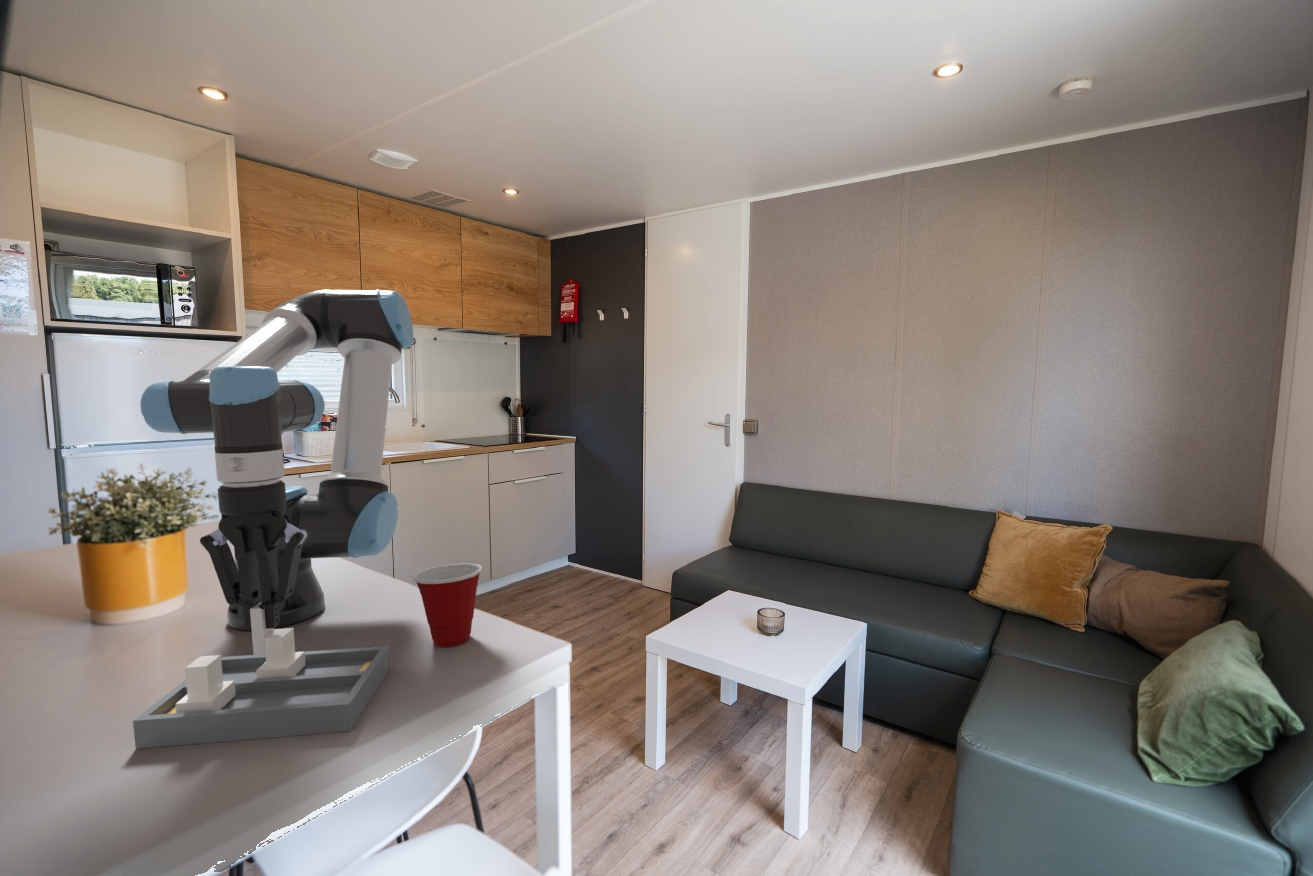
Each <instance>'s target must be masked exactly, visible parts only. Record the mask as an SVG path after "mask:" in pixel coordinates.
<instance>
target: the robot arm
mask: <svg viewBox="0 0 1313 876" xmlns="http://www.w3.org/2000/svg"><path fill="white" fill-rule="evenodd" d="M413 342H414V328H413V321H412V317H411V313H410V309H409V307H408V304H407V302H406V300H405V299H404V297H403V296H402V294H401V293H399V292H397V291H395V290H381V289H378V288H377V289H376V290H371V289H370V290H369V289H368V290H364V289H362V290H361V289H359V290H358V289H357V290H356V289H353V290H351V289H321V290H315V291H310V292H307V293H304V294H301V295H298V296H296V297H293V298H292V299H289V300H287V301H286V302H283V303H281V304H280V305H278V306H275V308H274V309H271V310H270V311H268V313H267V314H266V315H265V316H264V318H263V320H262V324H261V325H259V326H258V327H257V328H255V329H253V330H252V331H251V332H249V333H248V334H247V335H246V336H244V337H242V338H241V339H240V340H238V341H237V342H235V343H234V344H233V345H231V346H230V347H229V348H227V349H225V350H224V351H223V352H221V353H220V354H218V356H216V357H215V358H213V359H212V360H211V361H209V362H207V364H205V365H204V366H202V367H200V368H199V369H198V370H196V371H195V372H194V373H192V374H191V375H190V376H188V377H186V378H185V379H184V380H181V381H174V380H168V381H164V382H163V381H161V382H155V383H152V384H150V385H149V386H147V388H145V390H144V391H143V393H142V395H141V398H140V412H141V415H142V417H143V419H144V422H145V423H146V424H147V426H148V427H149V428H151V429H152V430H154V431H156V432H158V433H168V434H169V433H171V434H181V435H187V434H207V433H209V434H210V433H211V434H212V433H213V440H214V459H215V469H216V481H217V482H218V483H220V484H222V485H220V486H219V488H217V499H218V510H219V513H220V514H221V515H220V516H221V518H220V520H219V522H218V526H217V527H218V528H217V529H215V530H214V531H213V532H211V533H209V534H207V535H206V534H205V535H204V536H201V538H200V539H199V542H200V544H201V545H202V547H203V548H204V549H205V550H206V551H207V553H208V554H209V556H210V559H211V563H212V565H213V568H214V570H215V573H216V576H217V578H218V579H217V580H218V581H219V585H220V587H221V590H222V593H223V595H224V599H225V601H226V603H227V604H228V608H227V613H226V614H227V623H228V626H229V627H230V628H232V629H235V630H240V631H251V641H252V651H253V653H252V655H265V642H264V638H265V637H266V636H268V635H269V634H270V633H271V632H272V631H274V630H275V629H278V628H281V627H287V626H290V625H293V624H297V623H300V622H303V621H305V620H308V619H310V618H313V617H314V616H316V615H317V614H319V613H321V612H322V611H323V610H324V609H325V608H326V607H325V606H326V602H325V601H326V600H325V594H324V591H323V589H322V586H321V584H320V582H319V580H318V578H317V576H316V574H315V572H314V570H313V567H312V559H326V558H327V559H328V558H353V559H358V558H361V557H372V556H377V555H379V554H381V553H383V551H385V550H386V549H387V548H388V547H389V544H390V543H391V541H392V539H393V537H394V535H395V531H396V528H397V523H398V516H399V510H398V506H399V505H398V500H397V497H396V496H395V495H394V494H393V493H392V492H390V491H389V486H390V485H389V484H388V483H387V482H386V481H385V480H384V479H383V478H382V468H383V460H384V459H383V458H384V449H385V447H384V446H385V438H386V428H387V419H388V417H387V416H388V409H389V408H388V407H389V396H390V386H391V375H392V367H393V365H394V364H395V363H397V362H399V361H400V360H401V356H402V349H408V348H411V346H413ZM327 348H336V349H337V352H338V354H340V355H341V356H342V357H343V358H344V361H343V368H342V369H343V370H342V377H341V387H340V393H339V394H340V395H339V402H338V409H337V410H338V411H337V418H336V427H335V434H334V442H333V450H332V459H331V467H330V474H328V475H327V476H325V477H324V478H323V479H321V480H320V481H319V487H318V492H317V493H314V494H313V493H312V494H308V489H307V488H306V486H305V485H292V486H291V485H290V486H286V483H285V482H284V481H283V480H282V478H283V477H285V474H286V473H285V463H284V454H283V453H284V452H283V439H282V437H283V436H282V433H287V432H293V431H294V432H295V431H297V432H300V431H303V430H306V429H308V428H310V427H313V426H314V425H316V424H317V423H318V422H319V421H320V420H321V419H322V417H323V415H324V413H325V409H326V408H325V406H326V404H325V399H324V397H323V394H322V393H321V392H320V390H319V389H317V388H316V387H315V386H314V385H313V384H310V383H309V382H304V381H299V380H297V379H294V380H279V378H278V372H280V371H281V370H282V369H283V368H284V367H285V366H287V364H289V363H290V362H291V361H292V360H294V358H296V357H298V356H303V355H306V354H308V353H309V352H311V351H313V350H315V349H327ZM280 479H281V480H280ZM228 542H229V543H230V544H231V545H232V546H233V551H234V556H233V552H232V549H231V547H230V545H229V544H228Z"/></svg>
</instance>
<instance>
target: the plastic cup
mask: <svg viewBox="0 0 1313 876" xmlns="http://www.w3.org/2000/svg"><path fill="white" fill-rule="evenodd" d="M482 570H483V566H482V565H481V564H477V563H476V564H475V563H465V562H463V563H451V564H449V563H448V564H443V565H438V566H433V567H430V568H427V569H423V570H420V571H418V572H415V574H414V575H413V576H412V579H413V580H414V582H415V583H416V585H417V588H418V589H419V594H420V595H421V601H422V604H423V609H424V611H425V616H426V621H427V624H428V627H429V632H430V636H431V639H432V642H433V643H434V646H437V647H440V648H450V647H451V648H453V647H456V646H460V645H462V644H465V643H466V642H468V641H469V639H470V636H471V632H472V624H473V618H474V613H475V606H476V597H477V590H478V589H477V588H478V583H479V580H480V574H481V572H482Z"/></svg>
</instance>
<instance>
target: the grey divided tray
mask: <svg viewBox="0 0 1313 876" xmlns="http://www.w3.org/2000/svg"><path fill="white" fill-rule="evenodd" d="M390 654H391V653H390V645H386V646H385V645H384V646H372V647H370V646H369V647H368V646H367V647H357V648H356V647H353V648H337V649H324V650H310V651H305V664H306V665H305V666H304V667H303V668H302V669H301V670H300V671H299V672H298V673H297V674H296V676H287V677H273V678H259V679H257V674H256V670H257V669H258V668H259V667H260V666H262V665H263V664H264V663H265V662H266V655H253V654H249V655H232V656H231V655H230V656H221V662H222V674H223V681H235V691H236V695H235V696H234V697H233V698H232V699H231V700H230V701H229V702H228V703H227V704H226V705H225V706H224V707H223V708H222V709H221V710H212V711H199V712H186V713H176V703H177V702H178V701H180V700H181V699H182V698H183V697H184V696H186V695H187V694H188V693H187V683H186V679H185V680H183V681H182V682H181V683H180V684H178V685H177V686H176V687H174V688H173V689H171V690H170V691H169V692H168V693H167V694H165V695H164V696H163V697H161V698H160V699H159V700H157V701H156V702H155V703H154V704H152V705H151V706H149V708H147V709H146V710H145V711H143V712H142V713H141V714H139V715H138V716H137V717H136V718H135V719H133V720H132V726H133V727H132V728H133V735H134V737H133V738H134V745H135V749H136V750H137V749H138V750H139V749H149V748H151V749H152V748H161V747H162V748H163V747H175V746H176V747H177V746H186V745H198V744H210V743H211V744H212V743H213V744H214V743H223V742H234V741H235V742H237V741H245V740H247V741H249V740H259V739H270V738H271V739H273V738H284V737H295V736H305V735H306V736H307V735H319V734H321V735H322V734H331V733H333V734H334V733H342V732H345V733H346V732H351V731H353V729H354V727H355V726H356V724H357V722H358V721H359V719H360V718H361V717H362V714H363V713H364V711H365V710H366V708H367V707H368V705H369V703H370V702H371V700H372V698H373V697H374V696H375V693H376V692H377V690H378V689H379V688H380V686H381V685H382V683H383V681H384V680H385V678H386V676H387V675H388V673H389V672H390V670H391V655H390Z"/></svg>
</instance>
